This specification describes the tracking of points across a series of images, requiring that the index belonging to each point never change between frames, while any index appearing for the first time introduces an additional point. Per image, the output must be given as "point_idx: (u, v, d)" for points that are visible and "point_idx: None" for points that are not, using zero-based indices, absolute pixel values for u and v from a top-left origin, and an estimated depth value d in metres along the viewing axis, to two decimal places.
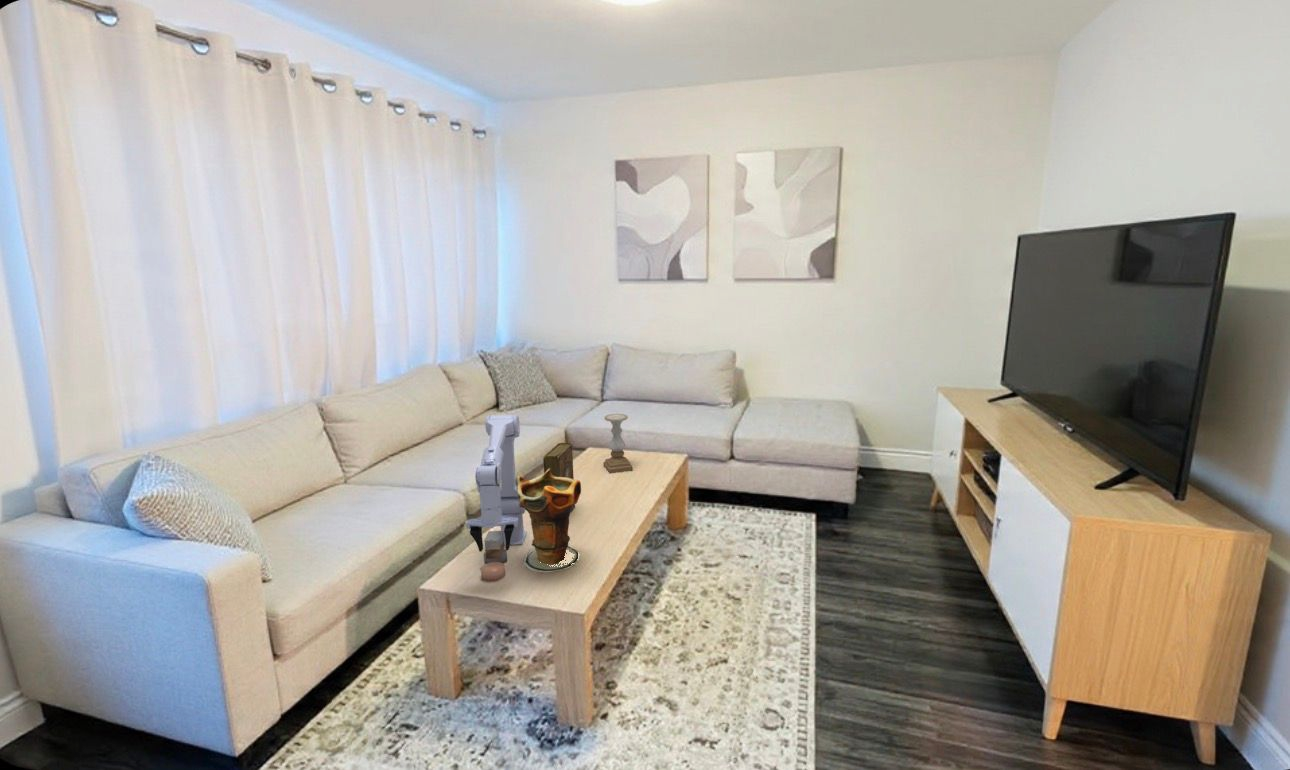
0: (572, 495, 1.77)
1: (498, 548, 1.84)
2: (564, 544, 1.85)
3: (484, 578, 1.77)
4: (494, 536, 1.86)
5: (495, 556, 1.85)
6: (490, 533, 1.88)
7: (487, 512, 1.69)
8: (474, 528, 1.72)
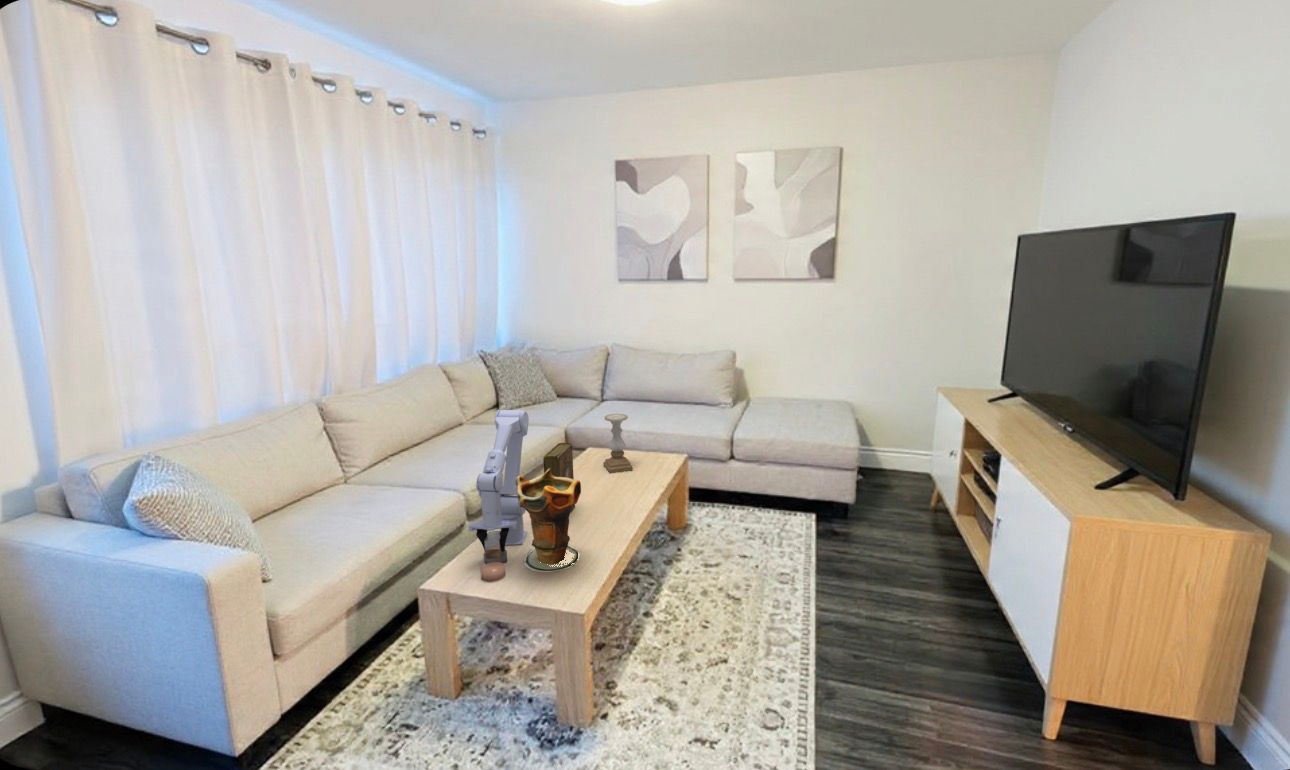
0: (572, 495, 1.77)
1: (498, 548, 1.84)
2: (564, 544, 1.85)
3: (484, 578, 1.77)
4: (494, 536, 1.86)
5: (495, 556, 1.85)
6: (490, 533, 1.88)
7: (488, 516, 1.82)
8: None
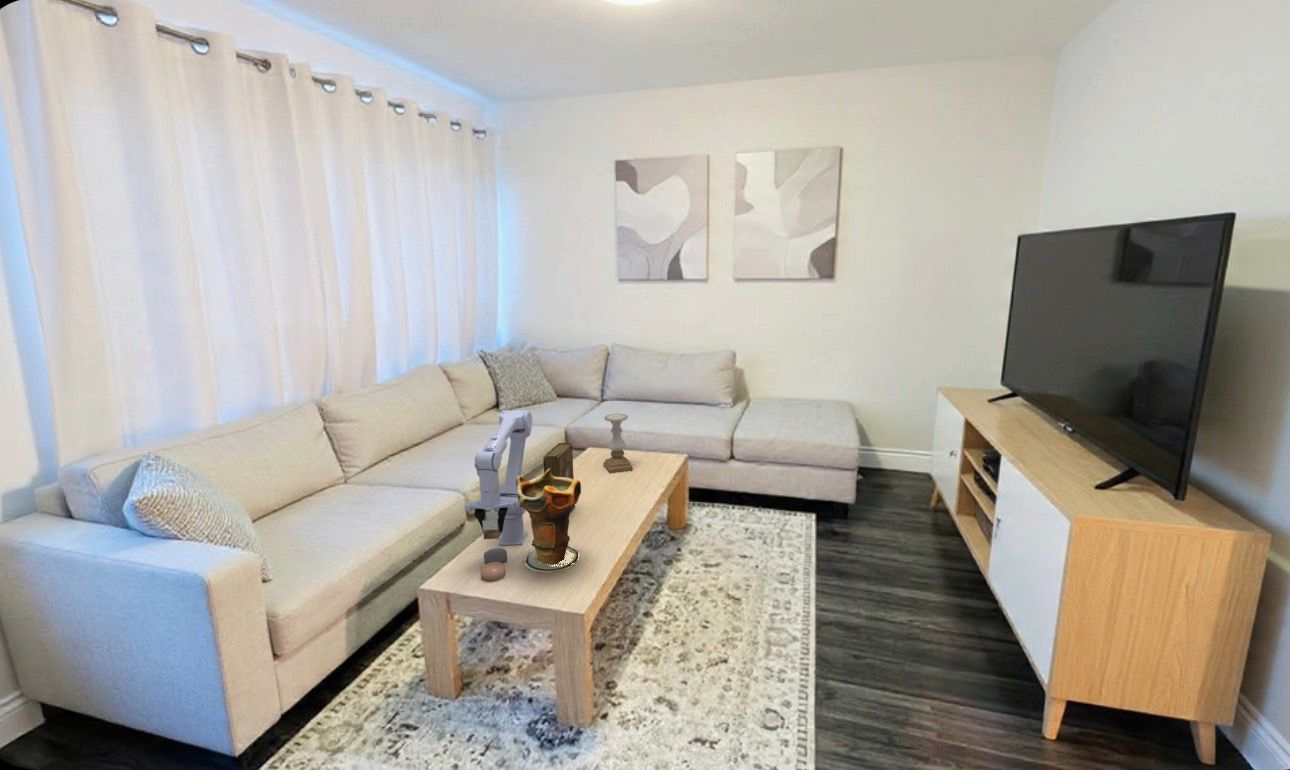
0: (572, 495, 1.77)
1: (496, 528, 1.83)
2: (564, 544, 1.85)
3: (484, 578, 1.77)
4: (492, 516, 1.85)
5: (493, 536, 1.83)
6: (489, 513, 1.87)
7: (486, 495, 1.81)
8: None
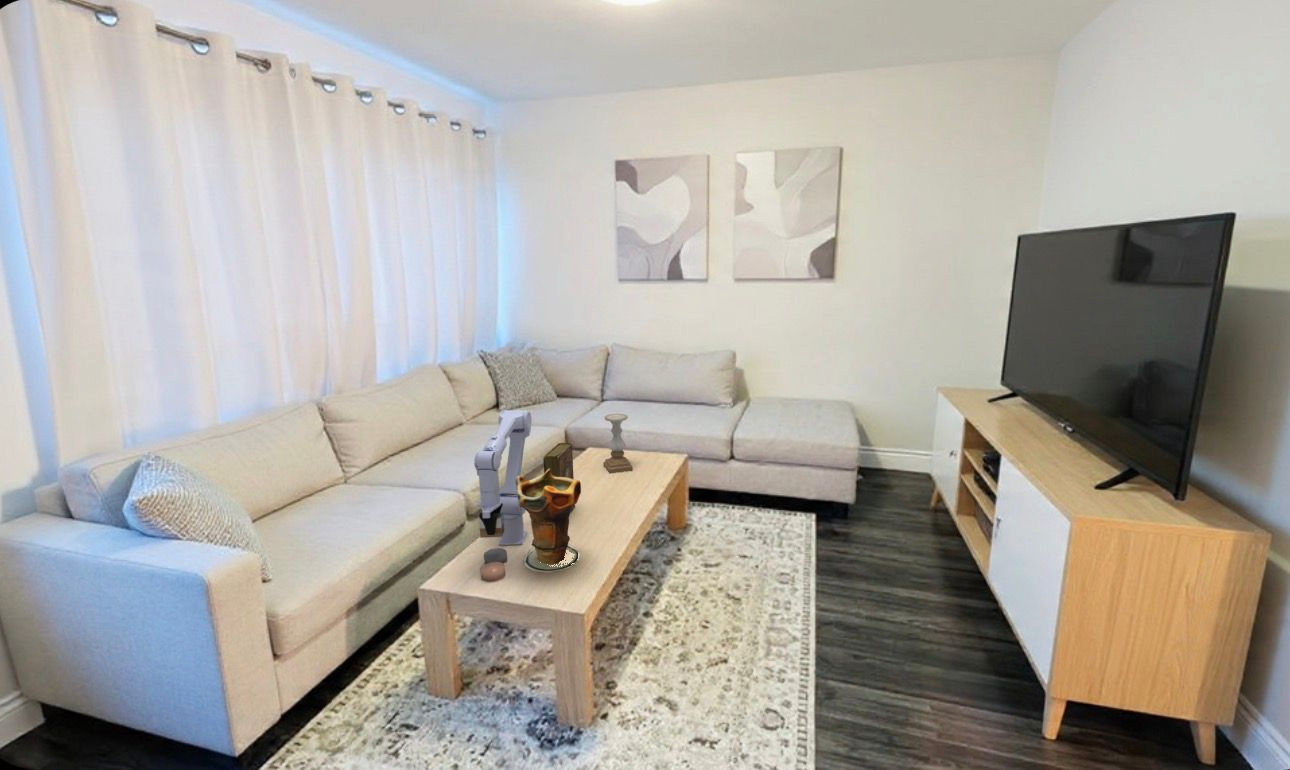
0: (572, 495, 1.77)
1: None
2: (564, 544, 1.85)
3: (484, 578, 1.77)
4: None
5: None
6: None
7: None
8: None
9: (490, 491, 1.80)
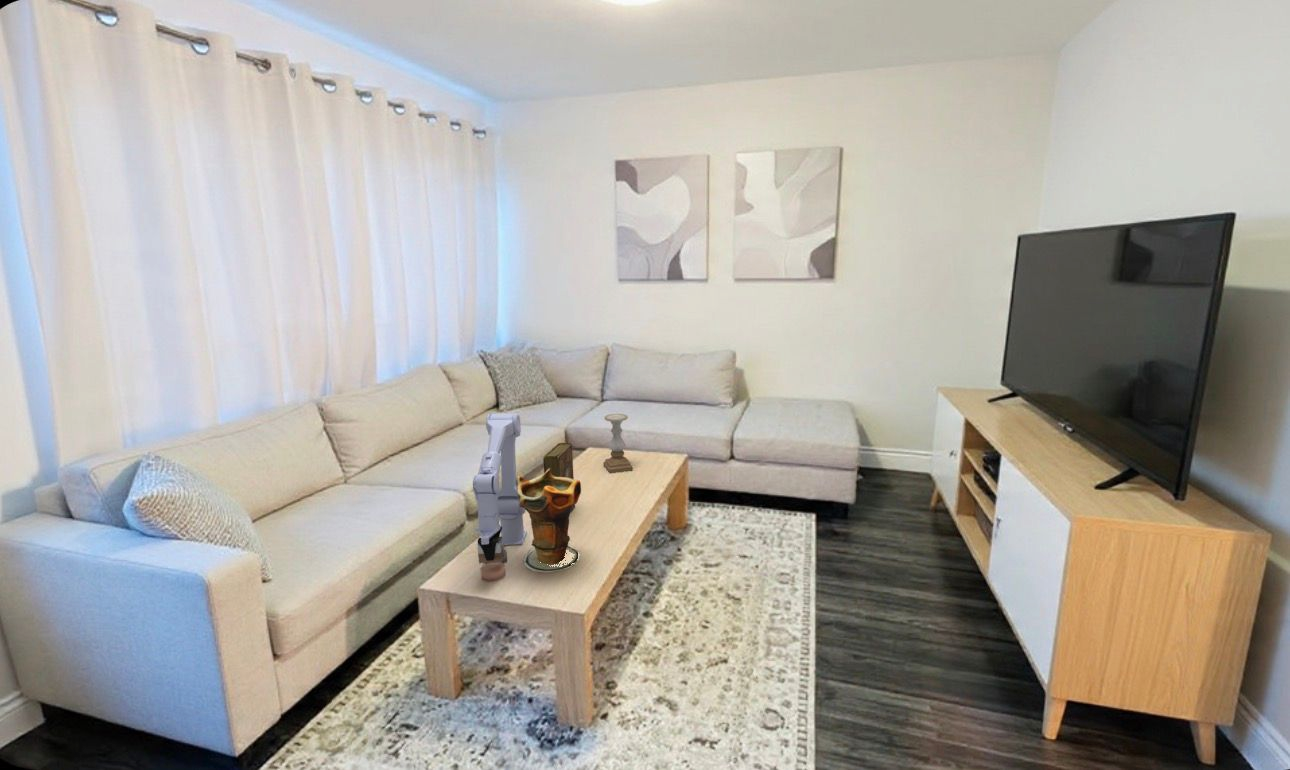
0: (572, 495, 1.77)
1: None
2: (564, 544, 1.85)
3: (484, 578, 1.77)
4: None
5: None
6: None
7: None
8: None
9: (490, 515, 1.73)
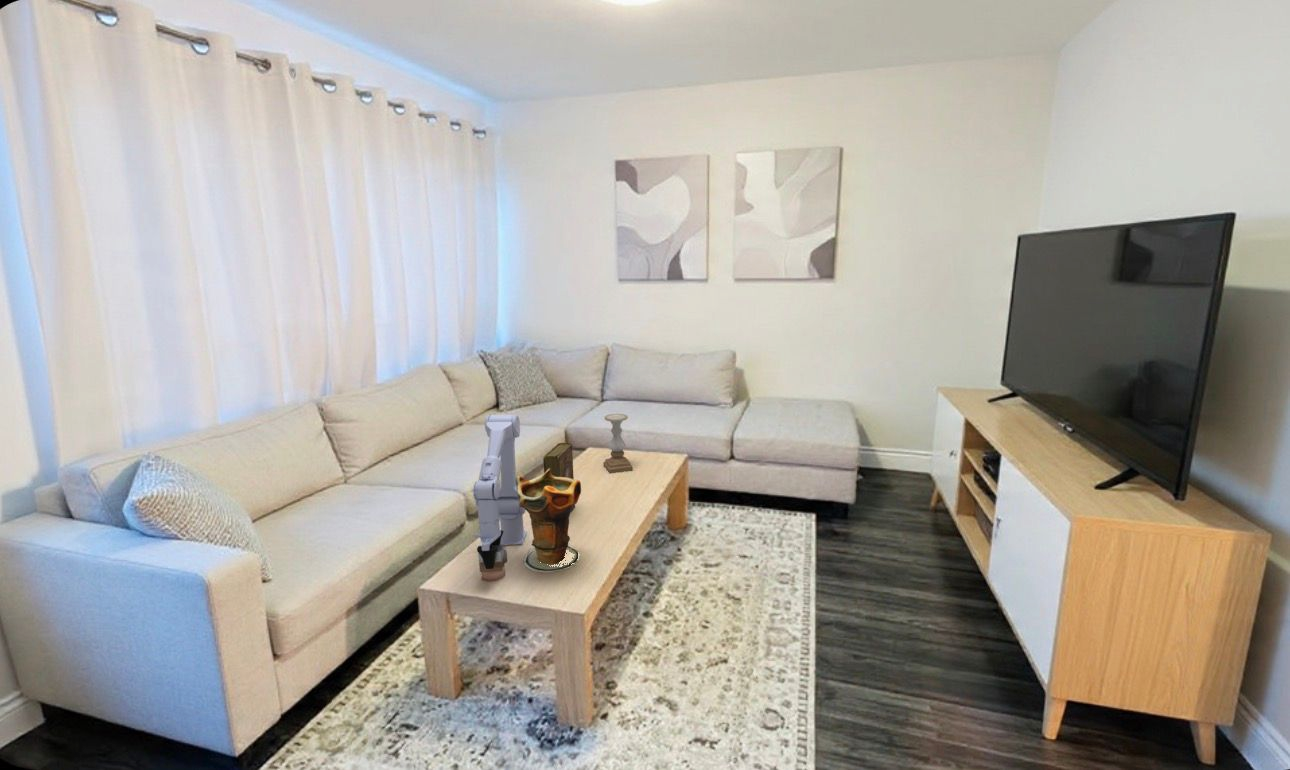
0: (572, 495, 1.77)
1: None
2: (564, 544, 1.85)
3: (484, 578, 1.77)
4: None
5: None
6: (498, 546, 1.79)
7: None
8: None
9: (490, 522, 1.73)
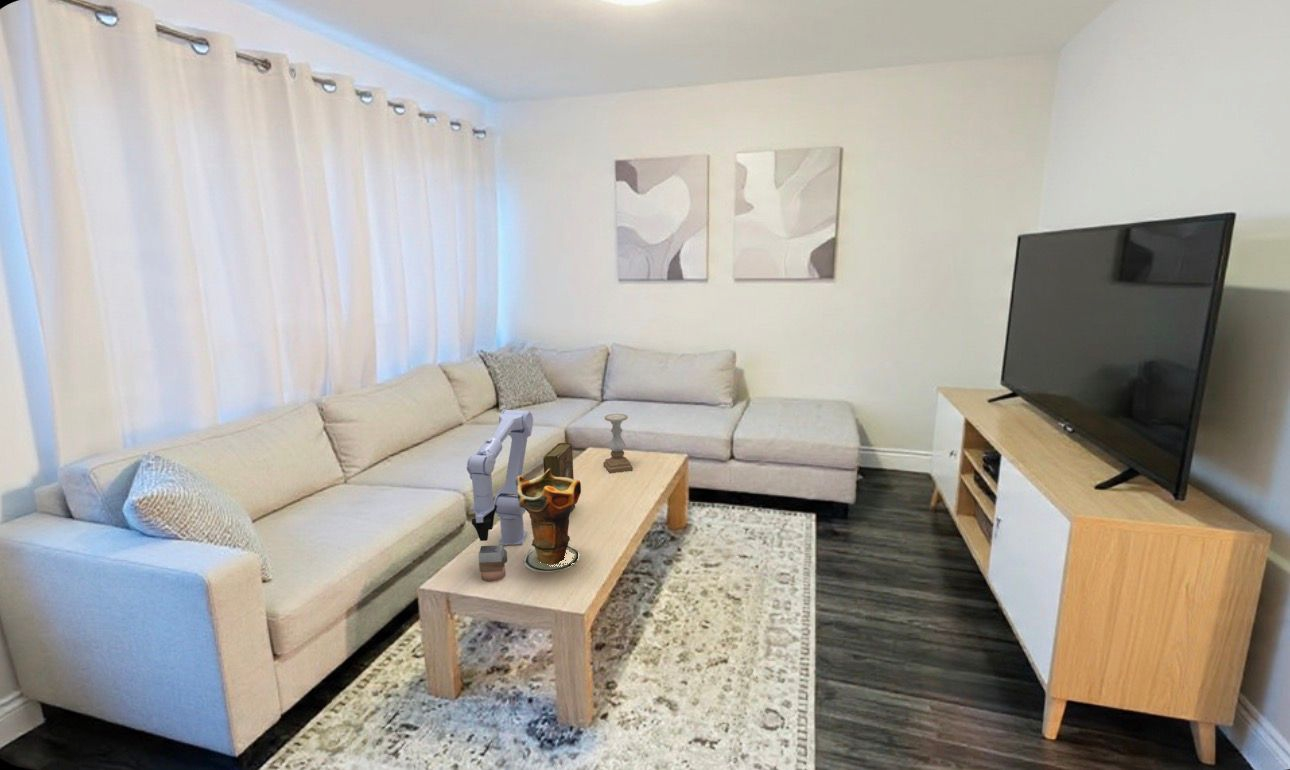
0: (572, 495, 1.77)
1: None
2: (564, 544, 1.85)
3: (484, 578, 1.77)
4: (488, 549, 1.78)
5: None
6: (498, 546, 1.79)
7: None
8: None
9: (482, 495, 1.80)
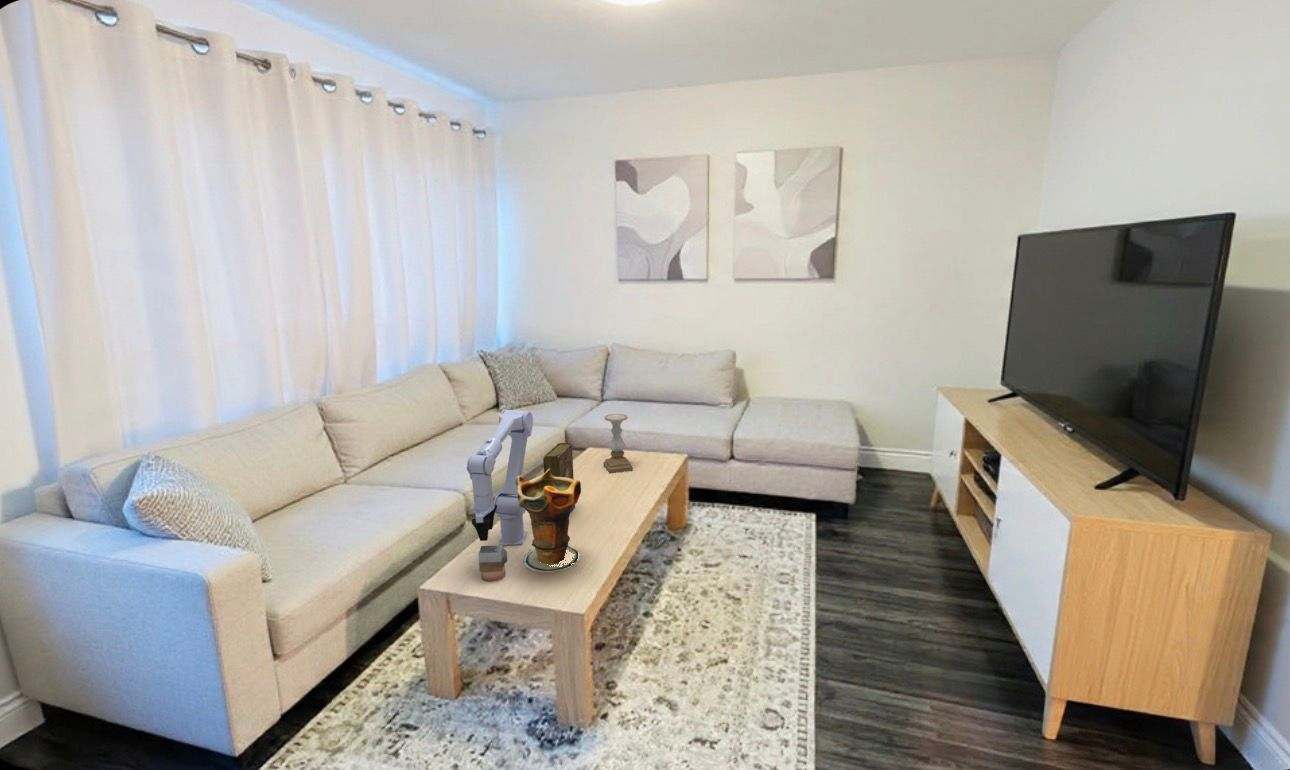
0: (572, 495, 1.77)
1: None
2: (564, 544, 1.85)
3: (484, 578, 1.77)
4: (488, 549, 1.78)
5: None
6: (498, 546, 1.79)
7: None
8: None
9: (482, 495, 1.80)
